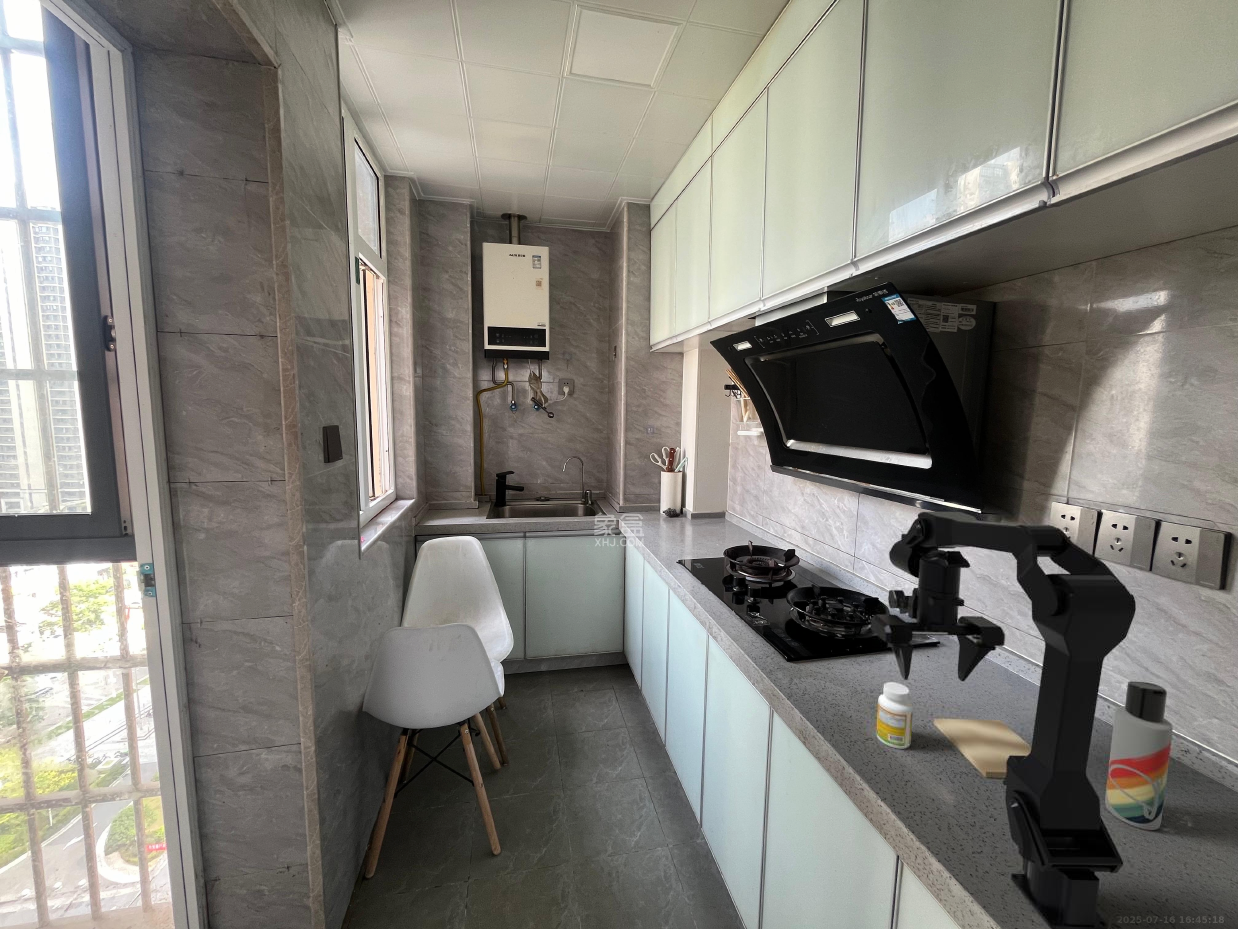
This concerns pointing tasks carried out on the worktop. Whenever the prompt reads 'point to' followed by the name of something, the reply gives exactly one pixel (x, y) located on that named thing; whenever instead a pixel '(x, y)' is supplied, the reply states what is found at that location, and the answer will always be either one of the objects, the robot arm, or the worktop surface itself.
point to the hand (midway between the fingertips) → (932, 679)
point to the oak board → (984, 743)
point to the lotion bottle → (1139, 757)
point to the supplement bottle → (894, 716)
